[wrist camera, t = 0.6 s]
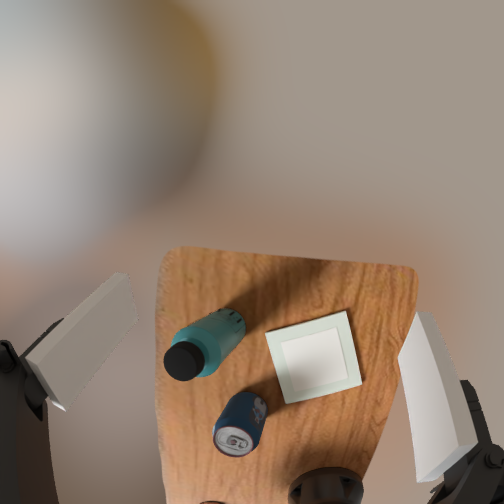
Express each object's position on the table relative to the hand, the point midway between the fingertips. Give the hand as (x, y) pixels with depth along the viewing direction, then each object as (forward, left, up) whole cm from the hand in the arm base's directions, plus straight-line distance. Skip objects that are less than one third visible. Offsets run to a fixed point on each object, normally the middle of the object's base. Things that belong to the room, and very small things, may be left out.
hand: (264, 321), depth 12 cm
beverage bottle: (-5, +12, -34) cm, 36 cm away
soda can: (-20, +13, -34) cm, 41 cm away
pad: (-14, 0, -33) cm, 36 cm away
